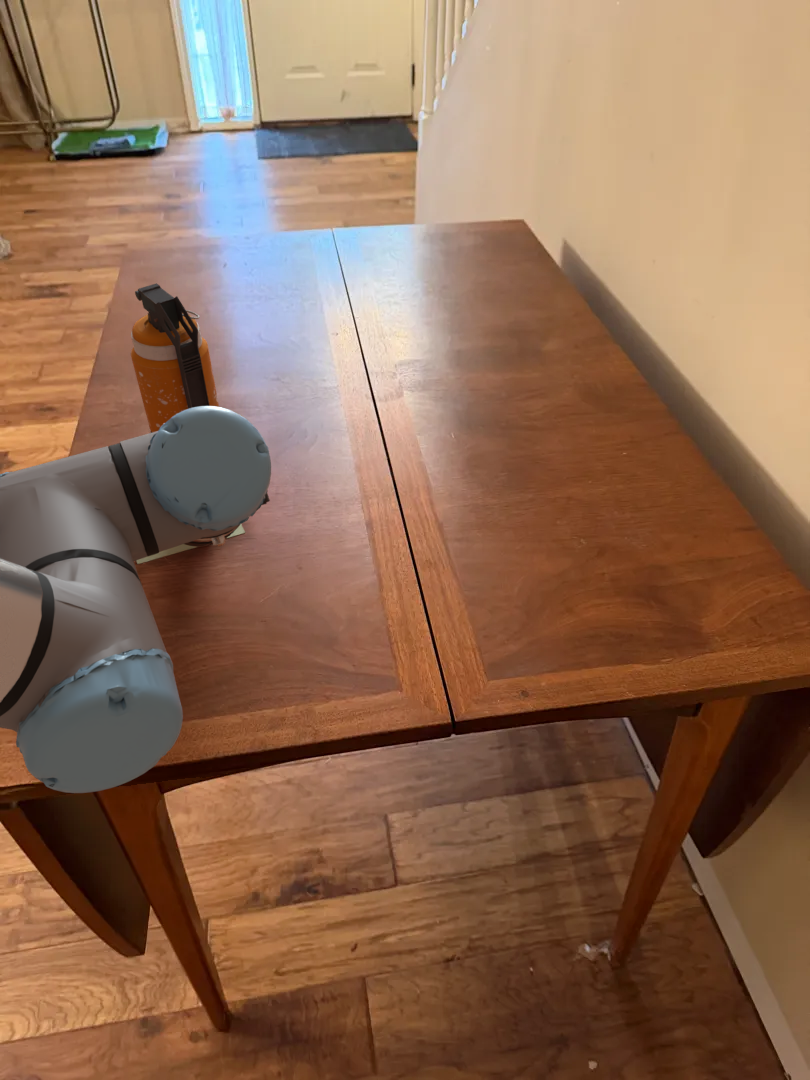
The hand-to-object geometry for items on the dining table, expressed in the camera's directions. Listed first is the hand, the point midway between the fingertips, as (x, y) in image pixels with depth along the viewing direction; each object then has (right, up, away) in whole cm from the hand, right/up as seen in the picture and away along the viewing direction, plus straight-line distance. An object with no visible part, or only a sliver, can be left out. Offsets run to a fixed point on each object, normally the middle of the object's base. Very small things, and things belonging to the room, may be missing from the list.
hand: (190, 525), depth 84 cm
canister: (-4, +11, +17) cm, 21 cm away
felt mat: (-3, +1, +6) cm, 7 cm away
